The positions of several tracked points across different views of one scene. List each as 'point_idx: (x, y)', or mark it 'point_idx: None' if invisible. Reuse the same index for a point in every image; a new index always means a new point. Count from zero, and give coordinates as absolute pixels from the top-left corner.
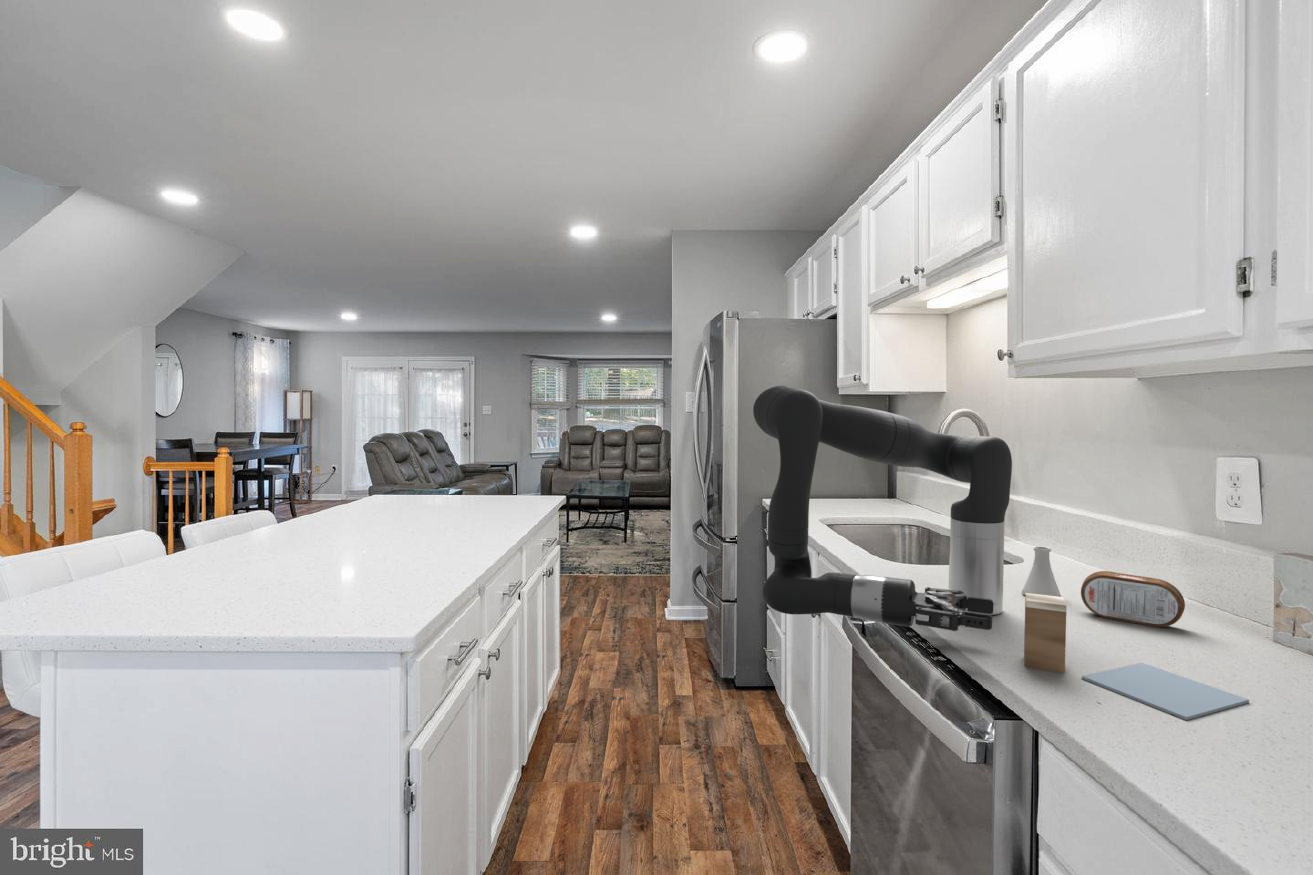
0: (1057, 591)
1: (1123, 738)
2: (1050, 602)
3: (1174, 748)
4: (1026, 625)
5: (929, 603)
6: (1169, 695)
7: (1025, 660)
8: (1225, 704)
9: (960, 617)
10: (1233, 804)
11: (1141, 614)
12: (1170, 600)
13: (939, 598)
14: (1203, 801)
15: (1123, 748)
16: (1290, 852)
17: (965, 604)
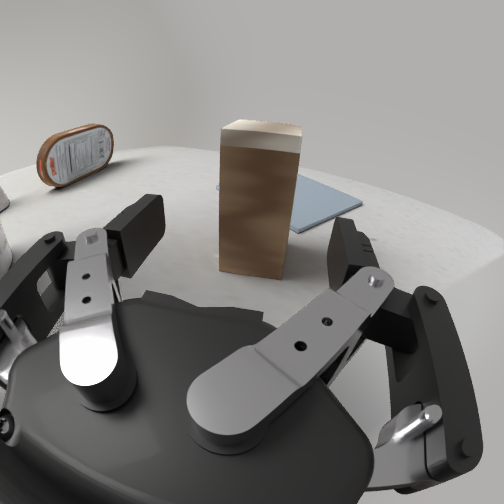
0: (4, 194)
1: (441, 246)
2: (293, 128)
3: (427, 226)
4: (293, 198)
5: (295, 419)
6: (313, 194)
7: (282, 269)
8: (310, 179)
9: (399, 293)
10: (470, 230)
11: (90, 163)
12: (106, 138)
13: (133, 335)
14: (481, 239)
15: (458, 251)
16: (488, 230)
17: (119, 263)
